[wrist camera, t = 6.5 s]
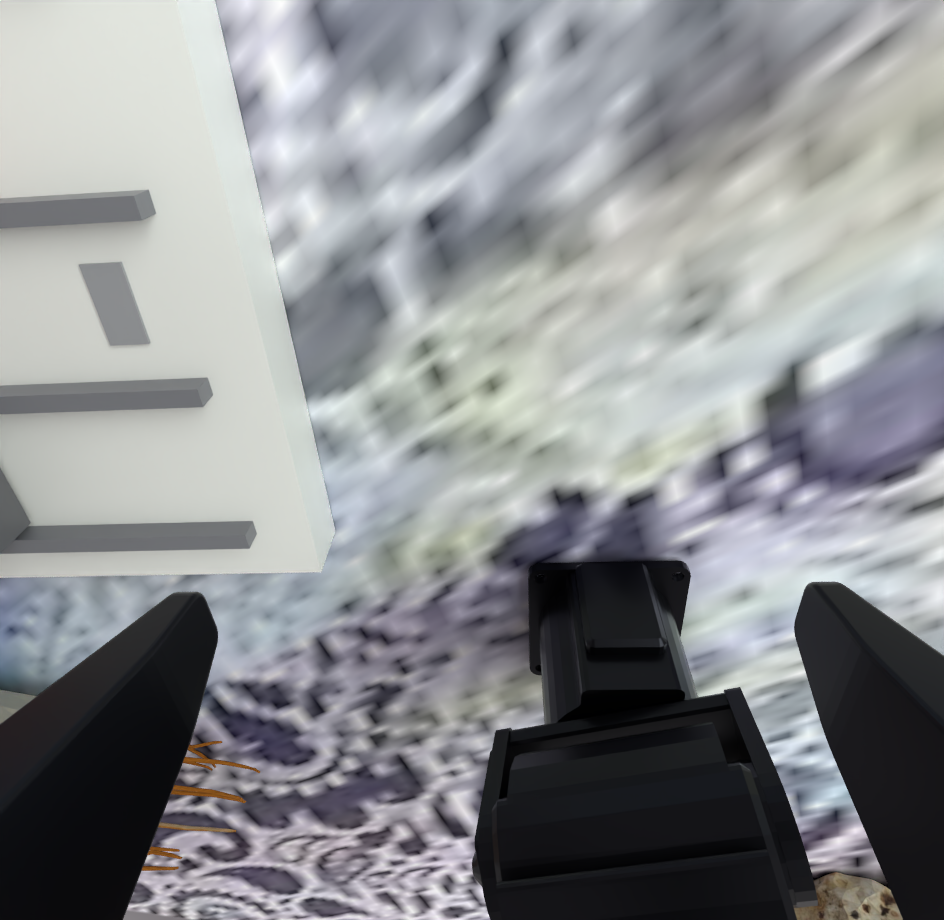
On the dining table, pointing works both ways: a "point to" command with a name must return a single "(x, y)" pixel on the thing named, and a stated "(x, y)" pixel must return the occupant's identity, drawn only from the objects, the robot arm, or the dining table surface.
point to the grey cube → (10, 514)
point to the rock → (850, 900)
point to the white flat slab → (142, 307)
